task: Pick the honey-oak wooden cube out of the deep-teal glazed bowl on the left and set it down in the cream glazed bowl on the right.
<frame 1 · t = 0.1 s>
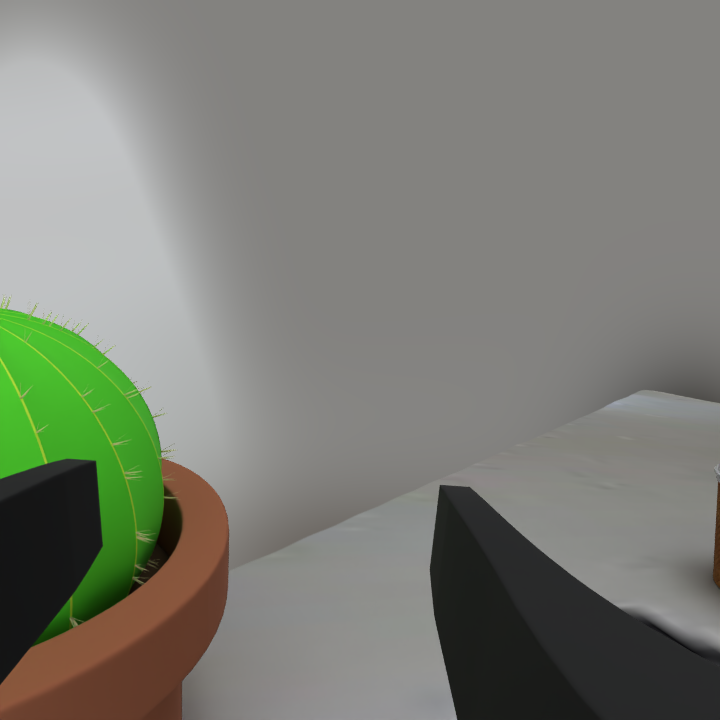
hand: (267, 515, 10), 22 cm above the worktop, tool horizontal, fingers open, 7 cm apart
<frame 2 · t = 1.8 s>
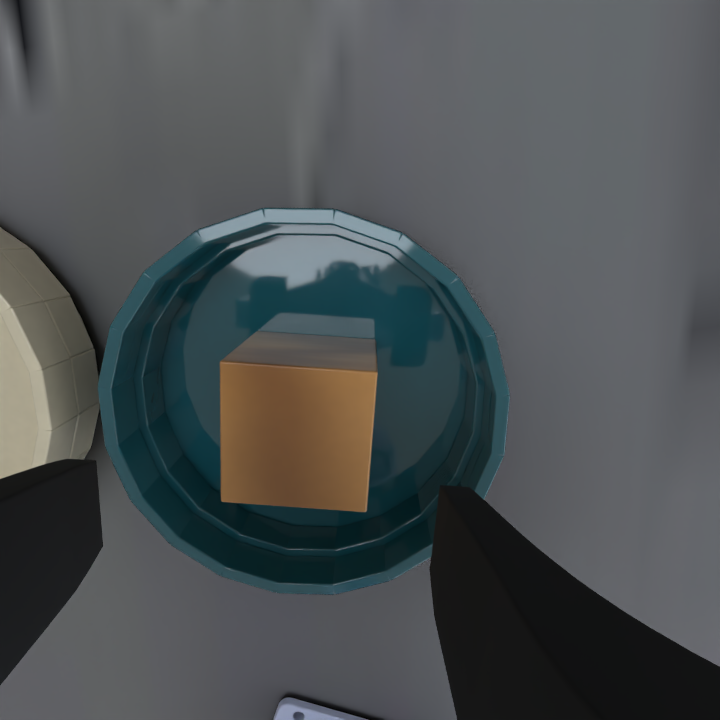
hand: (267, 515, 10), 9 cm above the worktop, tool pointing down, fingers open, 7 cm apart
teal bowl: (315, 387, 19), on the worktop
block: (313, 392, 18), resting on teal bowl
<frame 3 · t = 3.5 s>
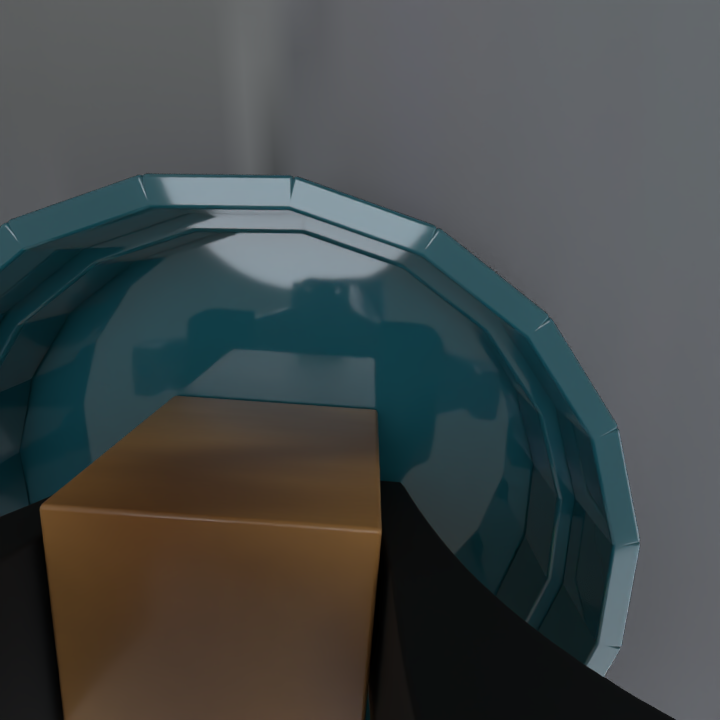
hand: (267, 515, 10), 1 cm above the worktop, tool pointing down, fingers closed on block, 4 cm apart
teal bowl: (279, 482, 11), on the worktop
block: (273, 493, 11), point 1 cm above the worktop, touching gripper, teal bowl
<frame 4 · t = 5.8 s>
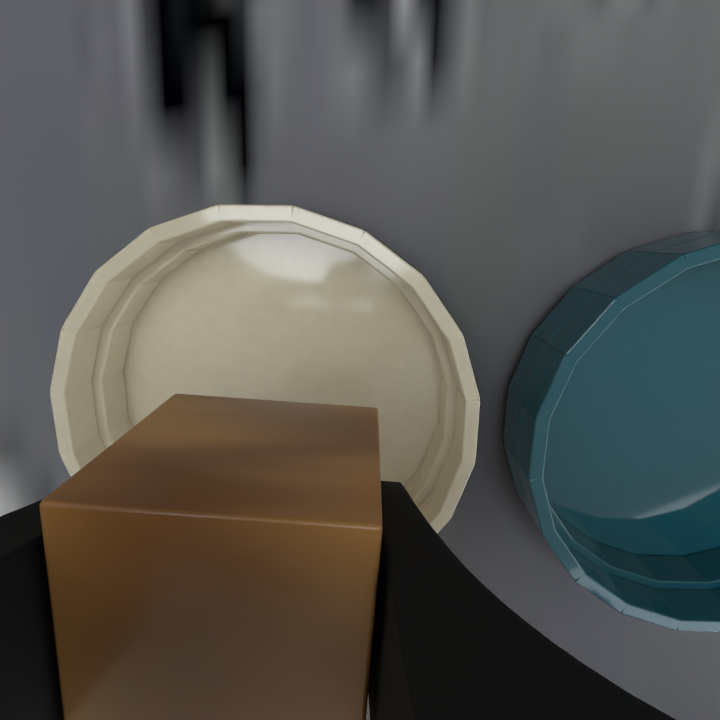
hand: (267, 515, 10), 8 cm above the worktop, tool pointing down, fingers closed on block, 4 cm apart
teal bowl: (676, 412, 18), on the worktop
cream bowl: (284, 391, 18), on the worktop
block: (274, 491, 11), point 7 cm above the worktop, touching gripper
when the fingers open (1 cm above the worktop, at t = 8.0 s): block stays where it is, resting on cream bowl.
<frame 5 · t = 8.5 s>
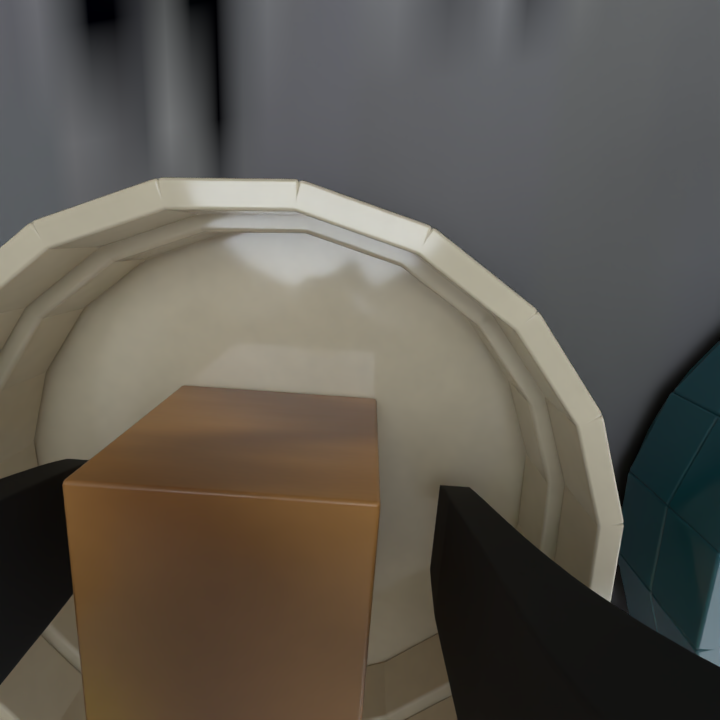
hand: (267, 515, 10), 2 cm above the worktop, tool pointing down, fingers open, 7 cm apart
cream bowl: (283, 471, 12), on the worktop
block: (277, 479, 11), point 1 cm above the worktop, touching cream bowl
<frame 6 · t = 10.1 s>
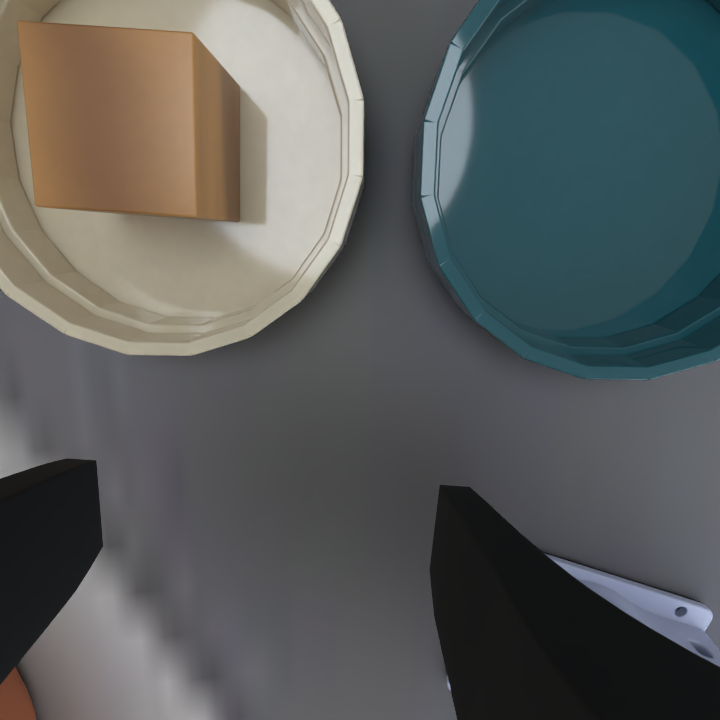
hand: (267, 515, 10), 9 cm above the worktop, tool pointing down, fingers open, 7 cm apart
teal bowl: (594, 176, 17), on the worktop
cream bowl: (184, 156, 17), on the worktop
block: (177, 151, 17), point 1 cm above the worktop, touching cream bowl
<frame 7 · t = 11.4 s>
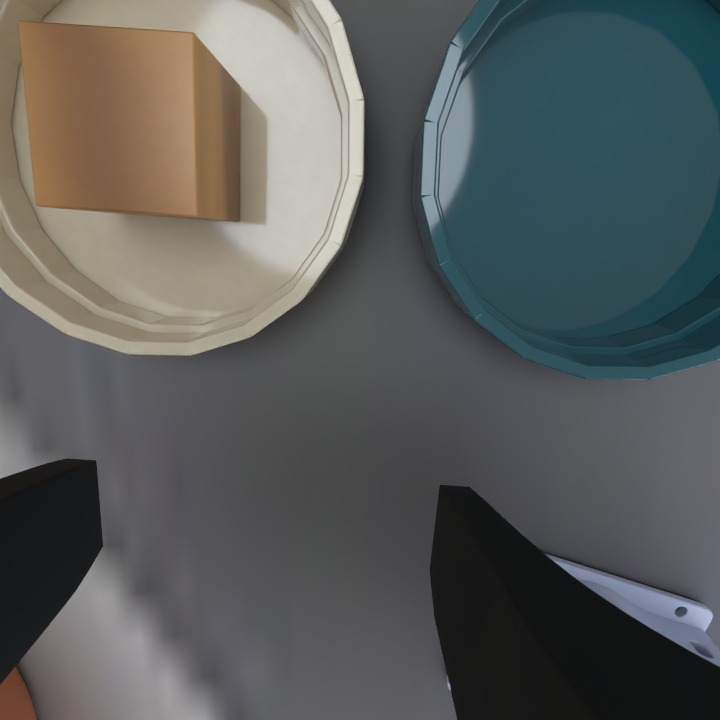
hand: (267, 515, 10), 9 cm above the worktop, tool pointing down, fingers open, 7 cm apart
teal bowl: (594, 176, 17), on the worktop
cream bowl: (184, 156, 17), on the worktop
block: (177, 151, 17), point 1 cm above the worktop, touching cream bowl
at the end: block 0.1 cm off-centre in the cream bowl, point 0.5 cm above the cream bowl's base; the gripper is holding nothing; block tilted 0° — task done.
